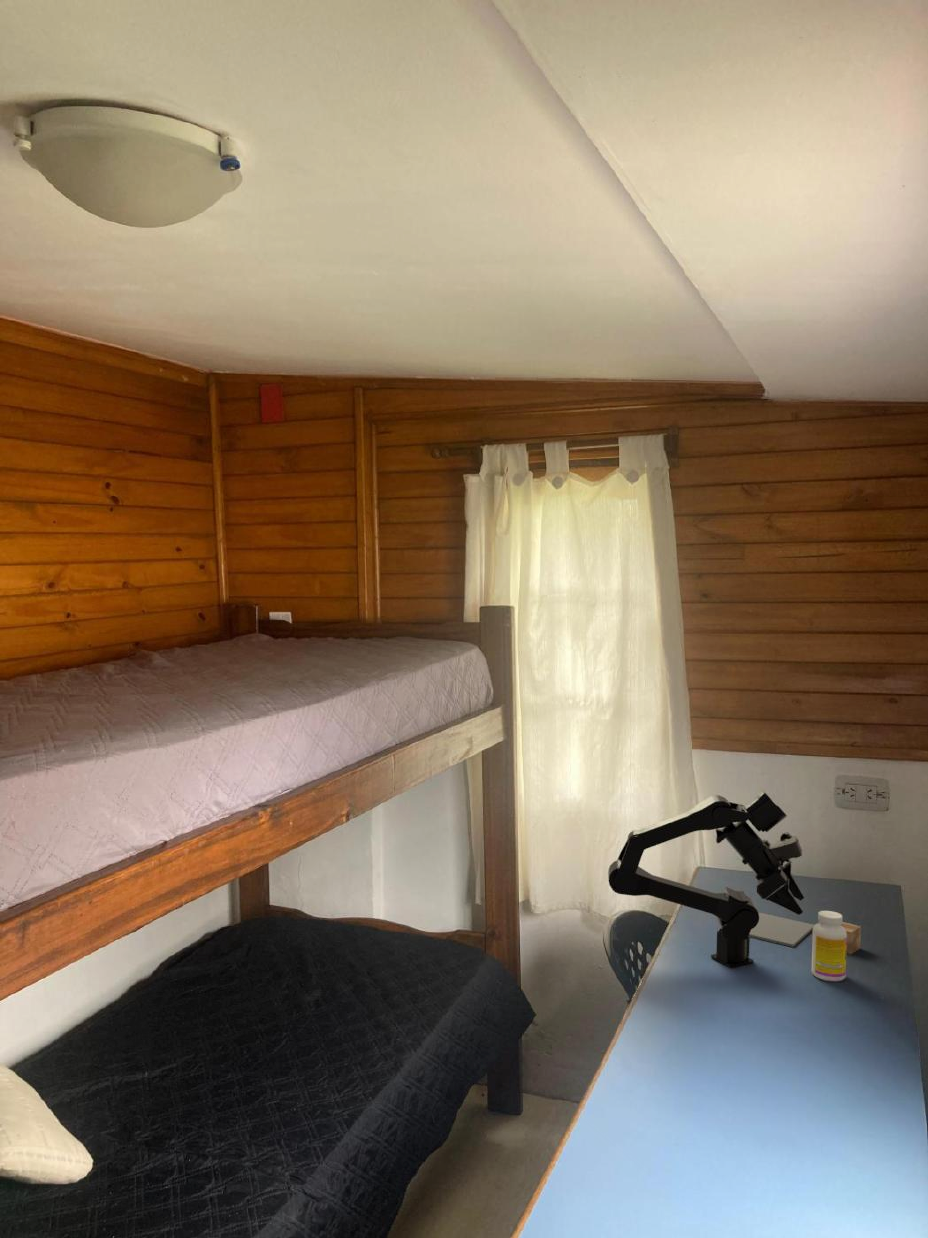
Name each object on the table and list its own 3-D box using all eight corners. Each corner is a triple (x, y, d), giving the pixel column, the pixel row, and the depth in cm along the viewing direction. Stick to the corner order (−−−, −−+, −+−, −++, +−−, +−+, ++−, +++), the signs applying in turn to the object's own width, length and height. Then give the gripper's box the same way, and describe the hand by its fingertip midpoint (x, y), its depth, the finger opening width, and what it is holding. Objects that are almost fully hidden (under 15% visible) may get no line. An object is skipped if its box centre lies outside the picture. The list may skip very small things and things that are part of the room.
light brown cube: (850, 954, 207) (851, 932, 207) (828, 948, 210) (829, 926, 210) (860, 949, 210) (860, 926, 210) (838, 942, 214) (838, 920, 214)
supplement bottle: (850, 983, 191) (852, 920, 191) (817, 982, 191) (819, 919, 191) (838, 970, 198) (840, 909, 198) (806, 969, 198) (808, 908, 198)
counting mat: (793, 947, 210) (793, 944, 210) (723, 930, 220) (723, 928, 220) (814, 927, 223) (815, 925, 223) (748, 912, 233) (748, 910, 233)
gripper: (777, 835, 189) (832, 898, 186) (781, 813, 207) (832, 870, 203) (734, 867, 193) (788, 930, 189) (742, 843, 210) (791, 900, 207)
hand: (801, 906), depth 197 cm, fingers open, 9 cm apart
